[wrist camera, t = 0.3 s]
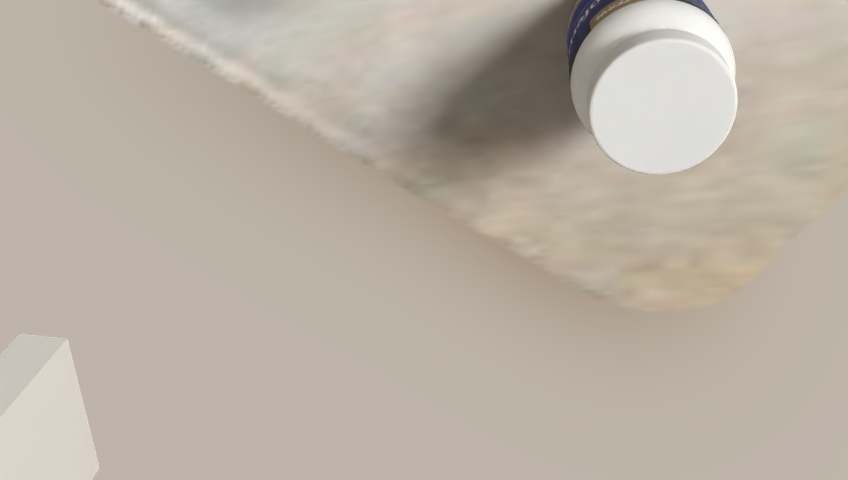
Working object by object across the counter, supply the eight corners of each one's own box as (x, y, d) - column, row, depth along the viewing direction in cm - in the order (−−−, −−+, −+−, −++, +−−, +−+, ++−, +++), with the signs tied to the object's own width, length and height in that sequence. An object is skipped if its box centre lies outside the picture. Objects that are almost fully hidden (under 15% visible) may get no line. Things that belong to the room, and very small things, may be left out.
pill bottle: (622, -68, 32) (651, -17, 23) (732, 10, 33) (798, 86, 24) (539, 49, 35) (538, 132, 26) (643, 117, 36) (674, 220, 27)
